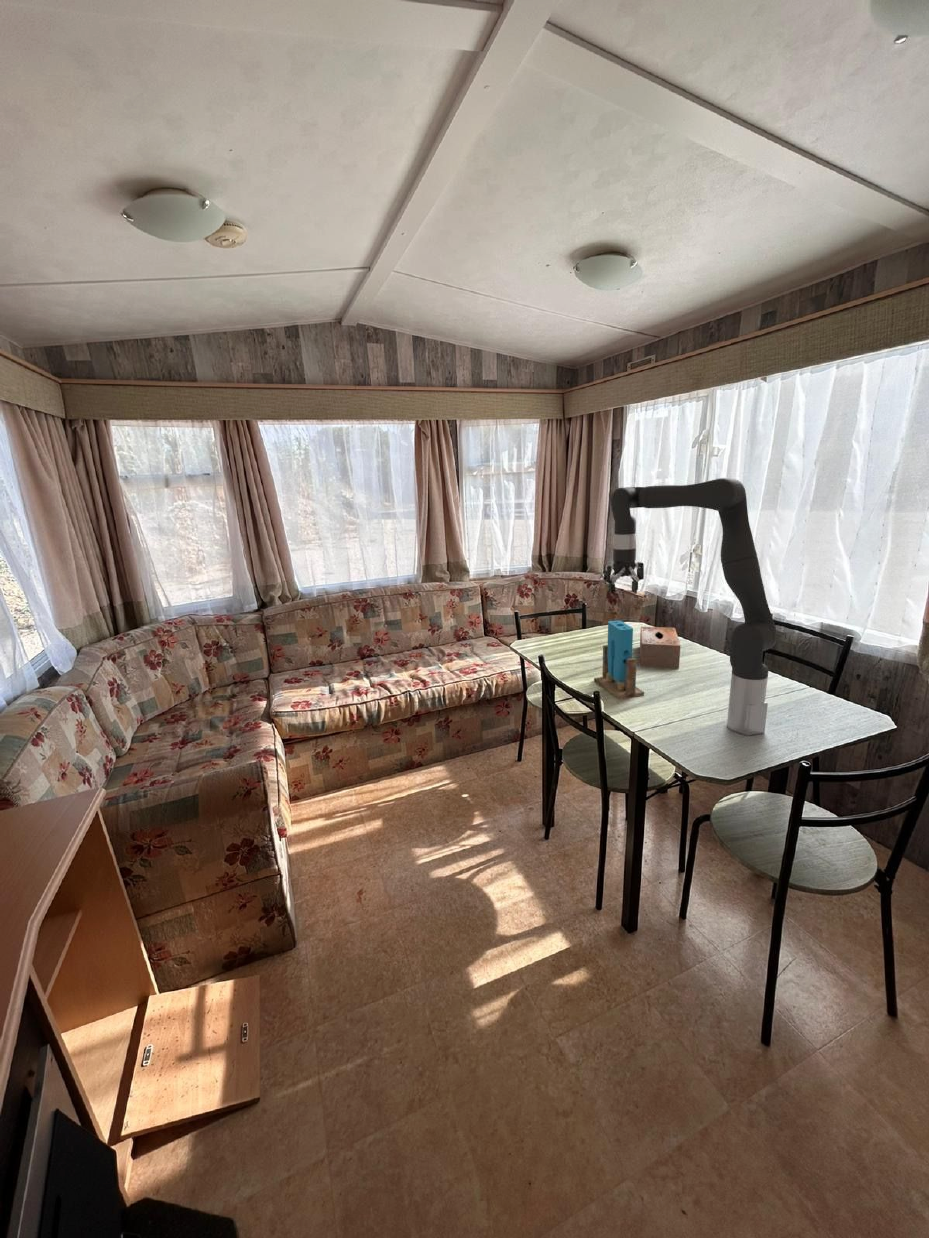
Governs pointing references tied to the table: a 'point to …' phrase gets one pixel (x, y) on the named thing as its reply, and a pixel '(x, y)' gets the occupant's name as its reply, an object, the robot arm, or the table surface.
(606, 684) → the peg stand
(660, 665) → the tissue box cover
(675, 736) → the table surface
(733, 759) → the table surface
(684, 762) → the table surface
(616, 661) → the block
